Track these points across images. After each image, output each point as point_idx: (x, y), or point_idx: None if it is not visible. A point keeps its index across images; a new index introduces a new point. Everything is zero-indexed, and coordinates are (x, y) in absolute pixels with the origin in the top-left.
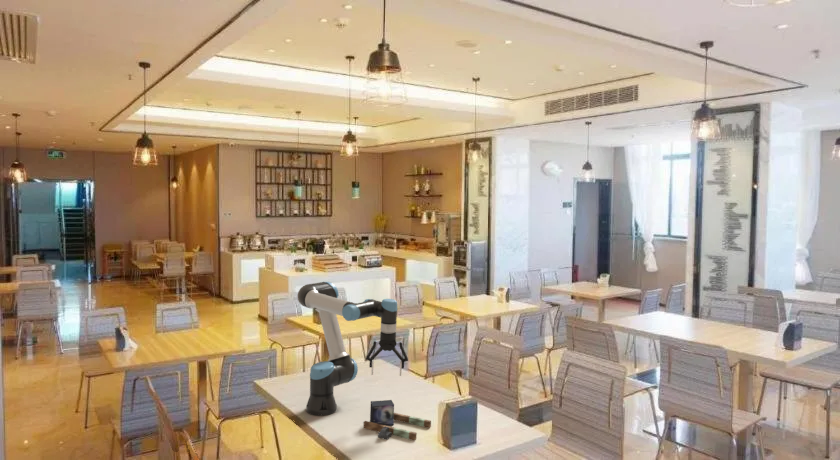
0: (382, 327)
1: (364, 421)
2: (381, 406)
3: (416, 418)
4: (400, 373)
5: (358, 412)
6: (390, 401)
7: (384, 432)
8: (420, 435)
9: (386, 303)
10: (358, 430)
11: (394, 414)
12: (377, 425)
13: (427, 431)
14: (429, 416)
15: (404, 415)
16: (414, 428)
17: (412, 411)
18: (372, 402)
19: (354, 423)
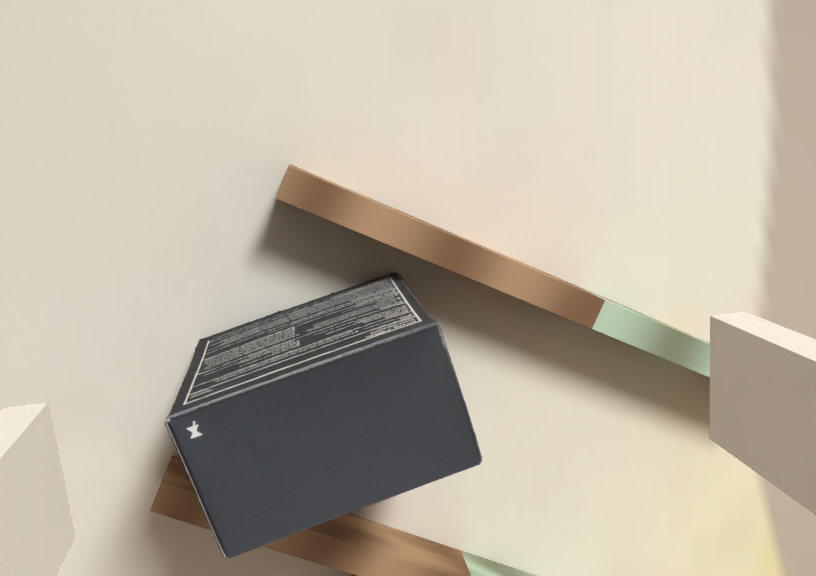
0: None
1: (157, 500)
2: (330, 517)
3: (662, 347)
4: (757, 460)
5: (14, 95)
6: (429, 383)
7: None
8: (666, 537)
9: None
10: (126, 535)
11: (441, 266)
12: (304, 558)
13: (723, 455)
14: (758, 125)
15: (546, 291)
16: (619, 414)
17: (598, 7)
18: (197, 458)
19: (46, 391)
